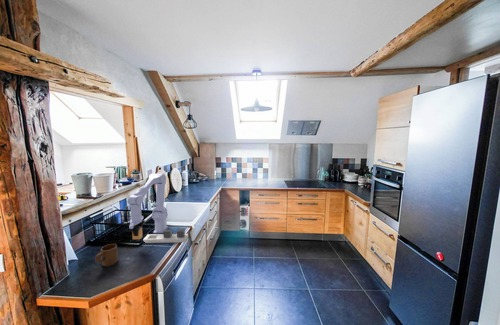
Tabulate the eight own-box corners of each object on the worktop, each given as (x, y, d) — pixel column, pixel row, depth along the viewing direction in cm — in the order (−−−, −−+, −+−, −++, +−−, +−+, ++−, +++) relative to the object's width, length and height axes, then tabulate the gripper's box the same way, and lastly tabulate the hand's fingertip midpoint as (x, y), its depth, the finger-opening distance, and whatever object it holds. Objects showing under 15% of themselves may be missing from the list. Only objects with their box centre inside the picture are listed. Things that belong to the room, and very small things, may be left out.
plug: (135, 236, 131) (134, 226, 130) (142, 236, 132) (141, 226, 131) (132, 239, 128) (131, 228, 127) (140, 239, 128) (139, 228, 127)
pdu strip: (147, 237, 143) (147, 228, 142) (188, 237, 145) (187, 227, 144) (143, 243, 136) (142, 233, 135) (185, 242, 138) (185, 232, 137)
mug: (102, 273, 107) (100, 256, 105) (90, 270, 108) (89, 254, 107) (121, 259, 118) (120, 244, 117) (110, 257, 120) (109, 242, 119)
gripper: (135, 209, 134) (136, 228, 136) (123, 218, 120) (124, 240, 122) (146, 209, 135) (147, 228, 137) (135, 218, 120) (137, 240, 122)
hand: (137, 234), depth 129 cm, fingers closed on plug, 3 cm apart
